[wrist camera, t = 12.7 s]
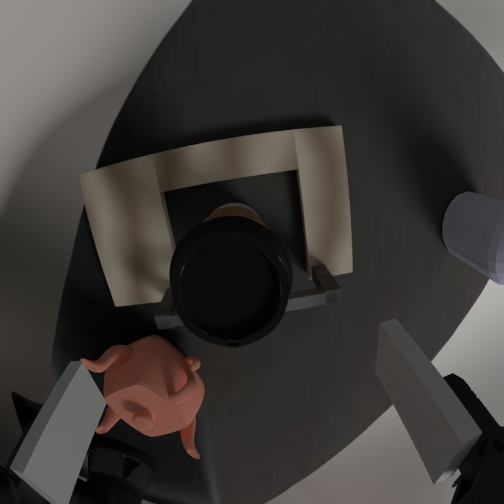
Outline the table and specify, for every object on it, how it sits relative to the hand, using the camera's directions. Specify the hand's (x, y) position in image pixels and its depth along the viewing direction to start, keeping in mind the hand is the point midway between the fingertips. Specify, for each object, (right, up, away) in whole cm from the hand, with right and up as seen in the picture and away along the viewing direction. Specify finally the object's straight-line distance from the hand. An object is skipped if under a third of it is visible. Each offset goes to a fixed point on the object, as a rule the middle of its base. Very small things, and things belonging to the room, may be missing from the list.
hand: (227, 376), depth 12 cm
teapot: (-13, -11, +27) cm, 32 cm away
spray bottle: (+30, +9, +21) cm, 38 cm away
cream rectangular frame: (-3, +9, +20) cm, 22 cm away
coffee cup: (-1, +8, +21) cm, 22 cm away
